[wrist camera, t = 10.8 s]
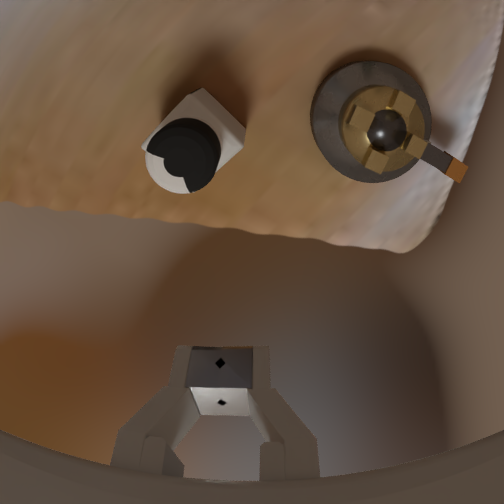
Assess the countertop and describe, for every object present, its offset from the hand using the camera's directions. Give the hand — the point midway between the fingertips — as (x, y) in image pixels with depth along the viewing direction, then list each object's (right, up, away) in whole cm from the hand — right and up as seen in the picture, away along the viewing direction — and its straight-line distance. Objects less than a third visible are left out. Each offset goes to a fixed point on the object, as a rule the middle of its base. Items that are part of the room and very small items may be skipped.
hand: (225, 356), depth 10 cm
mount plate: (+14, +19, +22) cm, 32 cm away
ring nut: (+18, +16, +21) cm, 31 cm away
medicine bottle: (-5, +17, +24) cm, 30 cm away
